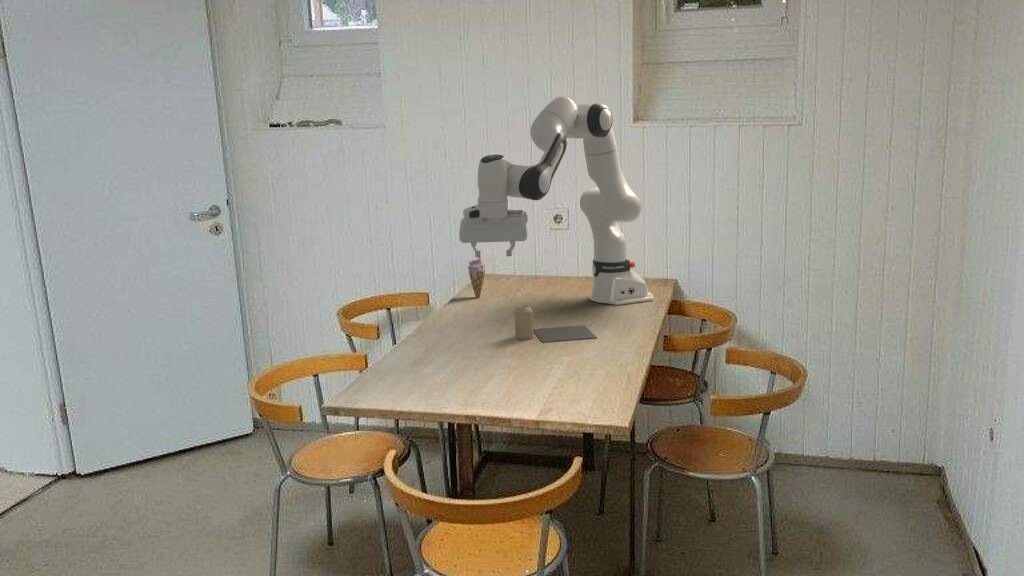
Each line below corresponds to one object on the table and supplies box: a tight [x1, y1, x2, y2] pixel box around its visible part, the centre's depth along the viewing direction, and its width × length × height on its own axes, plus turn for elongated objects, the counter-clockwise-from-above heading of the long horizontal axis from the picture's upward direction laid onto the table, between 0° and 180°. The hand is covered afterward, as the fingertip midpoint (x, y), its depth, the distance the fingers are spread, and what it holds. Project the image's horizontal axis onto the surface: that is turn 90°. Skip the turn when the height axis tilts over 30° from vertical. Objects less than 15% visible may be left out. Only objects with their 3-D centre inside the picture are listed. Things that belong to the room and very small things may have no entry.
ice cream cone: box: [467, 256, 486, 299], centre depth 326 cm, size 7×6×15 cm
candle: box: [514, 304, 534, 340], centre depth 277 cm, size 6×6×10 cm
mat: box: [533, 324, 598, 344], centre depth 280 cm, size 17×14×1 cm
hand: (493, 256), depth 272 cm, fingers open, 8 cm apart
